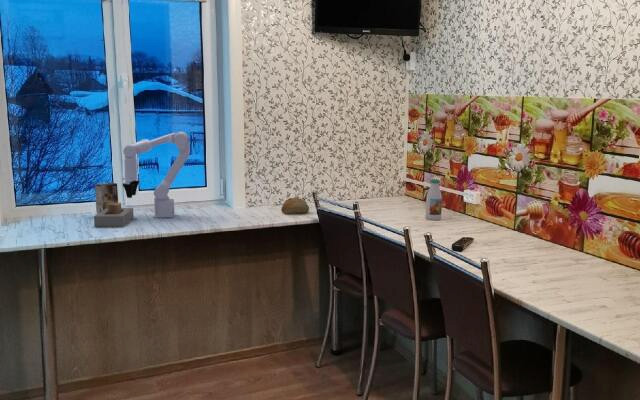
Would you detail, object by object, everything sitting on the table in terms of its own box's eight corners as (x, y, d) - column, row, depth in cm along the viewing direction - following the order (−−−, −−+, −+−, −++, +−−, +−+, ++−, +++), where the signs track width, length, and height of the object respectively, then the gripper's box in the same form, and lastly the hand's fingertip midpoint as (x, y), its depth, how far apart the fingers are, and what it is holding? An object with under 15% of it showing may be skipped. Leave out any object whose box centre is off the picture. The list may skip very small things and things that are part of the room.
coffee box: (112, 212, 300) (110, 182, 297) (119, 214, 297) (117, 183, 294) (96, 215, 293) (94, 184, 290) (103, 217, 289) (101, 185, 286)
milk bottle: (423, 219, 291) (425, 180, 287) (428, 216, 297) (429, 178, 294) (438, 221, 287) (440, 181, 283) (442, 218, 294) (444, 179, 290)
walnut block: (122, 221, 281) (121, 202, 280) (119, 223, 277) (118, 204, 275) (111, 221, 281) (110, 202, 279) (108, 223, 276) (107, 204, 275)
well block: (133, 217, 289) (133, 207, 288) (123, 226, 269) (122, 216, 269) (106, 217, 288) (106, 208, 287) (94, 227, 268) (93, 216, 268)
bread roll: (278, 212, 305) (278, 197, 304) (305, 210, 311) (305, 195, 309) (284, 216, 297) (284, 200, 295) (311, 214, 302) (311, 199, 301)
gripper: (126, 167, 293) (126, 193, 296) (118, 171, 279) (119, 198, 282) (140, 167, 294) (141, 194, 296) (133, 171, 280) (134, 199, 282)
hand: (131, 196), depth 289 cm, fingers open, 7 cm apart
